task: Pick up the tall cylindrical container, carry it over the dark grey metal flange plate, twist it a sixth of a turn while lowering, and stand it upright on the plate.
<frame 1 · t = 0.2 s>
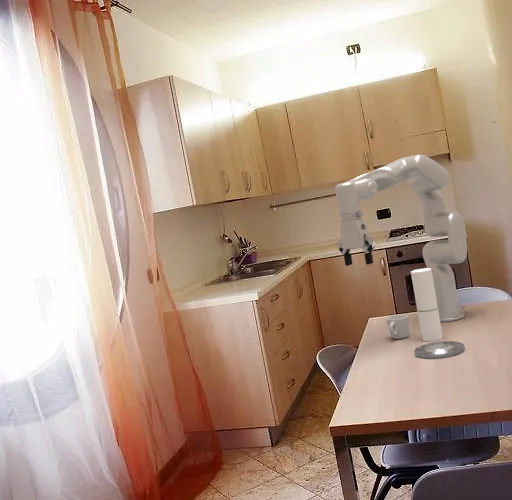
hand: (359, 264, 221), 31 cm above the table, tool pointing down, fingers open, 9 cm apart
cup: (399, 339, 231), on the table
cylindrical container: (432, 339, 223), on the table
flange plate: (439, 351, 205), on the table
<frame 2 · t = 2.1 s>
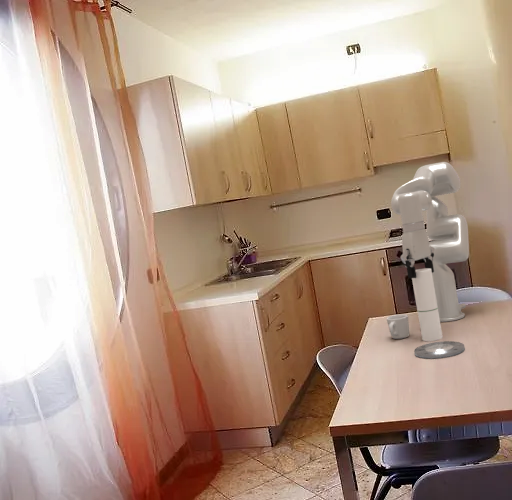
hand: (421, 275, 221), 23 cm above the table, tool pointing down, fingers open, 9 cm apart
nothing on the table moved.
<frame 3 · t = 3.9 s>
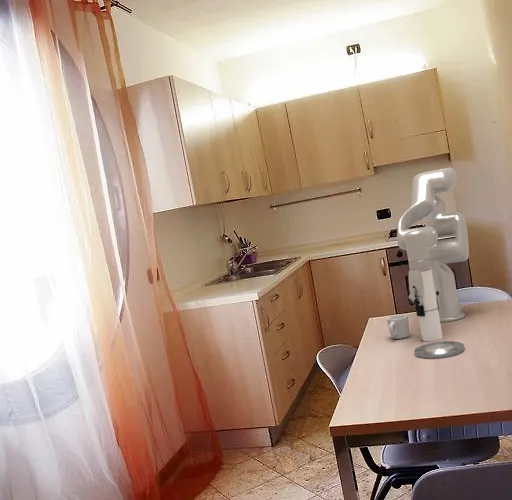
hand: (428, 313, 222), 9 cm above the table, tool pointing down, fingers closed on cylindrical container, 7 cm apart
cylindrical container: (432, 339, 223), on the table, touching gripper
everything else where it was.
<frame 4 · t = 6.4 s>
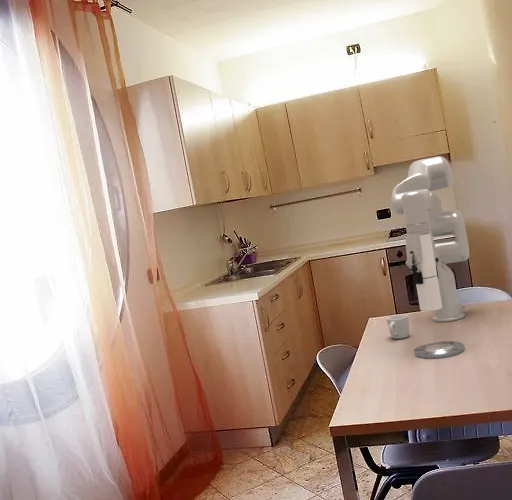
hand: (426, 281, 206), 23 cm above the table, tool pointing down, fingers closed on cylindrical container, 7 cm apart
cylindrical container: (431, 309, 206), point 14 cm above the table, touching gripper
everything else where it was.
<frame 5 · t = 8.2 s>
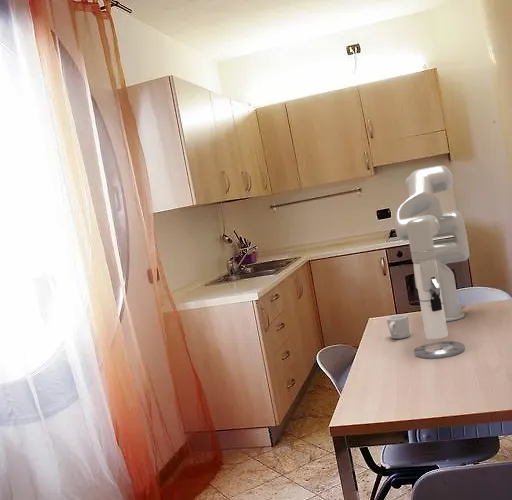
hand: (432, 308, 204), 15 cm above the table, tool pointing down, fingers closed on cylindrical container, 7 cm apart
cylindrical container: (436, 336, 204), point 5 cm above the table, touching gripper
everything else where it was.
when the fingers open (11 cm above the table, at t = 9.3 s): cylindrical container stays where it is, resting on flange plate.
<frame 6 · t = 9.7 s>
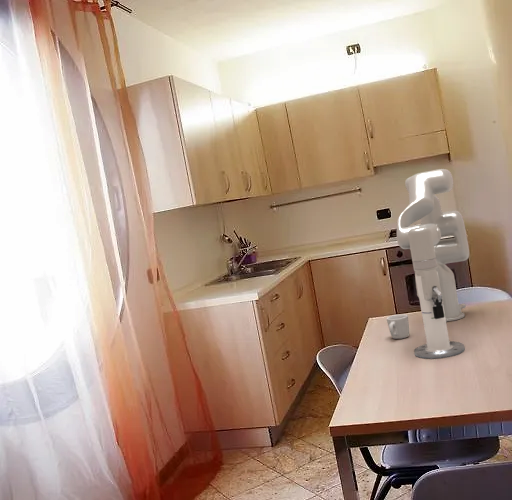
hand: (433, 315, 204), 12 cm above the table, tool pointing down, fingers open, 9 cm apart
cylindrical container: (439, 348, 205), point 1 cm above the table, touching flange plate
everything else where it was.
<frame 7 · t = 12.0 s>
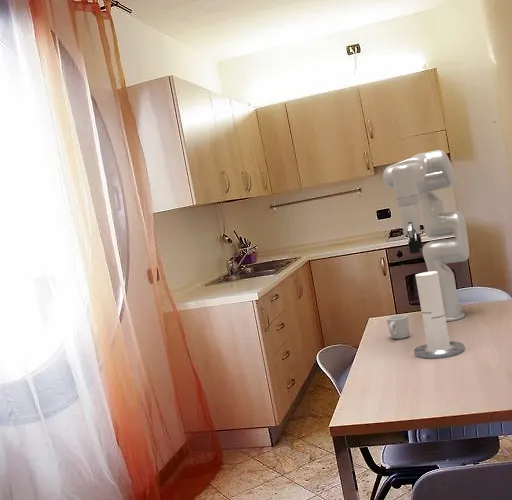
hand: (416, 250, 213), 33 cm above the table, tool pointing down, fingers open, 9 cm apart
nothing on the table moved.
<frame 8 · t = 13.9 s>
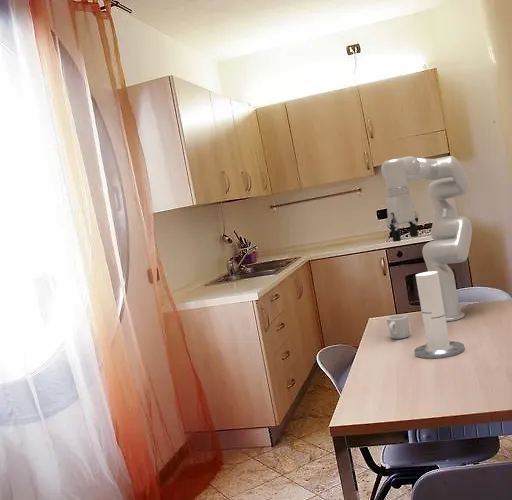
hand: (405, 238, 228), 36 cm above the table, tool pointing down, fingers open, 9 cm apart
nothing on the table moved.
at the end: cylindrical container 0.2 cm from the flange plate (horizontally); cylindrical container tilted 0°; the gripper is holding nothing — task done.
